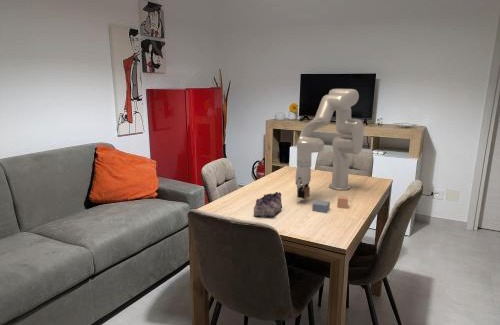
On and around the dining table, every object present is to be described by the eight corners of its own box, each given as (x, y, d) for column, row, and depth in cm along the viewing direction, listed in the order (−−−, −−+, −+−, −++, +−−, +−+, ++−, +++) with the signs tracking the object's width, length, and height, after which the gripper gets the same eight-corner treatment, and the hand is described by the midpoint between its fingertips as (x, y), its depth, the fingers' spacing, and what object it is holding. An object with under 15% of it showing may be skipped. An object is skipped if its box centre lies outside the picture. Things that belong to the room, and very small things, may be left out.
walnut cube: (301, 194, 194) (301, 186, 193) (309, 196, 192) (309, 187, 190) (297, 197, 190) (297, 188, 189) (305, 199, 187) (306, 190, 186)
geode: (265, 204, 187) (268, 186, 185) (285, 210, 183) (289, 192, 180) (248, 215, 169) (251, 195, 167) (270, 222, 165) (274, 202, 162)
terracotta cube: (337, 204, 187) (338, 195, 186) (347, 205, 186) (348, 196, 185) (337, 207, 183) (337, 198, 181) (347, 208, 181) (347, 199, 180)
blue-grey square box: (316, 207, 184) (316, 199, 183) (329, 209, 181) (329, 201, 180) (312, 211, 177) (312, 203, 177) (326, 213, 174) (326, 205, 174)
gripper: (304, 159, 195) (303, 190, 200) (290, 166, 181) (290, 199, 186) (316, 160, 191) (315, 192, 196) (304, 167, 177) (303, 202, 182)
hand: (303, 195), depth 191 cm, fingers closed on walnut cube, 5 cm apart
